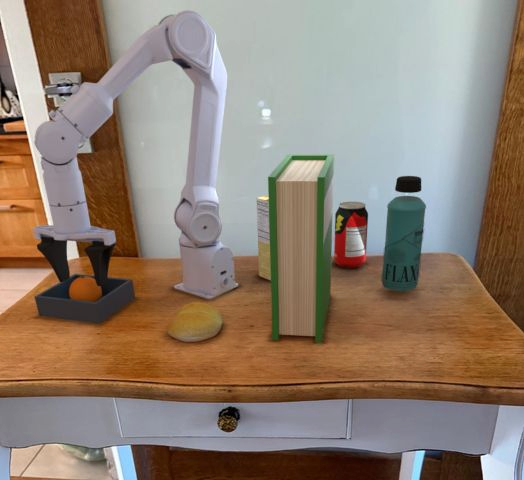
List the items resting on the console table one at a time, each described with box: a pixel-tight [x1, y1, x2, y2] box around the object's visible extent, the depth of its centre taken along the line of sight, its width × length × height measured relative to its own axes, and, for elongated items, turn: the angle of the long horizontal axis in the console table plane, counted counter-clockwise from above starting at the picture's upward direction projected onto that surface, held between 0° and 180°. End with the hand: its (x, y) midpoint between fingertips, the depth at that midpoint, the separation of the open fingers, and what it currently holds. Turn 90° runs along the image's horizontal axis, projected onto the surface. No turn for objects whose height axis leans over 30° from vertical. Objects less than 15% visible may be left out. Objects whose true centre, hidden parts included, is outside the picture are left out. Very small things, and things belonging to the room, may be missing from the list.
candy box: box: [256, 194, 271, 282], centre depth 105 cm, size 9×4×15 cm, turn 129°
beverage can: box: [333, 201, 369, 269], centre depth 109 cm, size 6×6×12 cm
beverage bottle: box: [380, 175, 427, 292], centre depth 94 cm, size 6×7×20 cm
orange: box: [69, 274, 102, 302], centre depth 95 cm, size 5×5×6 cm
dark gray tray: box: [34, 273, 136, 325], centre depth 96 cm, size 12×11×4 cm
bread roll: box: [166, 301, 224, 343], centre depth 86 cm, size 8×9×4 cm
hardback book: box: [267, 154, 335, 343], centre depth 85 cm, size 18×7×24 cm, turn 170°
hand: (83, 282), depth 95 cm, fingers open, 7 cm apart
